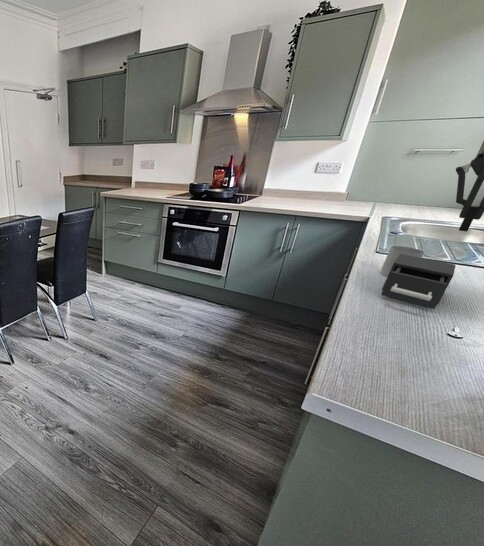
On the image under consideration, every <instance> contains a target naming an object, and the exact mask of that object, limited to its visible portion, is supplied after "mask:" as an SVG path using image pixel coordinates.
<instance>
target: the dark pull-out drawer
mask: <svg viewBox="0 0 484 546" xmlns="http://www.w3.org/2000/svg"><path fill="white" fill-rule="evenodd" d="M444 279H445V276H442V275H438V274H433V273H428V272H424V271H419V270H414V269H409V268H405V267H400V266H399V267H398V268H397V270H396V271H395V272H394V271H391V273H390V276H389V278H388V280H387V282H386V285H385V287H384V289H383V290H381V291H382V292H381V293H380V295H381V296H384V297H387V298H391V299H395V300H398V301H402V302H406V303H410V304H414V305H417V306H420V307H425V308H429V309H433V310H435V309H436V307H437V305H438V304H439V303H438V301H439V299H440V297H441V296H442V294H443V292H444V290H445V288H446V286H447V284H448V283H444ZM446 289H447V288H446ZM445 291H446V290H445ZM444 293H445V292H444ZM443 295H444V294H443ZM442 297H443V296H442ZM439 302H440V301H439ZM437 303H438V304H437Z"/></svg>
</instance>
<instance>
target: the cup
mask: <svg viewBox="0 0 484 546" xmlns="http://www.w3.org/2000/svg"><path fill="white" fill-rule="evenodd" d="M400 254H403V255H408V256H414V257H419V258H423V256H424V254H425V251H424V250H422V249H418V248H415V247H411V246H410V247H409V246H403V245H392V246H390V248H389V250H388V253H387V255H386V258H385V259H384V262H383V264H382V267H381V268H380V269H381V270H380V271H379V273H380V274H381V275H382V276H385V277H386V278H387V277H388V275H389V273H390V270H391V268H392V266H393V264H394V262H395V261H396V259H397V258H398V256H399V255H400Z"/></svg>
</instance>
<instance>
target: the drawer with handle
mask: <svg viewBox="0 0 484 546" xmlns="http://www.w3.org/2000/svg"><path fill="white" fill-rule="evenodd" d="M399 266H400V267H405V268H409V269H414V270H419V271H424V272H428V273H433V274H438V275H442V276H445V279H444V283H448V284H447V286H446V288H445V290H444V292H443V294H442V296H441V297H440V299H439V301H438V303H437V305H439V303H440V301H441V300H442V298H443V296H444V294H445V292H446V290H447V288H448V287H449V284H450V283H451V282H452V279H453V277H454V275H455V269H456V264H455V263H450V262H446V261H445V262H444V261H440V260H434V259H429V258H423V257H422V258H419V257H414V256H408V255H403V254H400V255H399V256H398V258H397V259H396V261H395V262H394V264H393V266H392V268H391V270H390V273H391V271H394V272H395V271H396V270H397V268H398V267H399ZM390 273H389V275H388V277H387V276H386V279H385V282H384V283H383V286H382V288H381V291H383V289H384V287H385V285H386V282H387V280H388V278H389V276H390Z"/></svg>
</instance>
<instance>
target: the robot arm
mask: <svg viewBox="0 0 484 546" xmlns="http://www.w3.org/2000/svg"><path fill="white" fill-rule="evenodd" d="M470 168H471V169H472V170H473V172H474V174H475V175H476V176H477V177H476V179H475V181H474V183H473V185H472V188H471V190H470V191H469V194H468V196H467V198H466V199H465V198H464V195H465V186H466V185H465V184H466V174H468V173H469V172H470ZM455 172H456V174H457V176H458V178H457V188H456V196H455V197H456V198H455V203H457V204H459V205H462V206H463V207H462V208H461V210H460V213H459V215H458V218H459V219H463V220H462V222H461V224H460V226H459V228H458V231H460V232H468V231H469V229H470V227H471V224H472V223H473V221H474V220H480V219H482V217H483V215H484V195H483V196H482V198H481V201H480V202H479V205H478V206H477V205H476V206H475V205H474V206H473V203H474V201H475V199H476V197H477V195H478V193H479V191H480V189H481V186H482V185H483V184H484V183H483V182H484V140H482V143H481V145H480V147H479V150H478V152H477V153H476V156H475V157H474V158H472V160H471V161H470V162H469V163H468V164H467V163H466V164H464V165H460V166H457V167H456V168H455Z"/></svg>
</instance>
